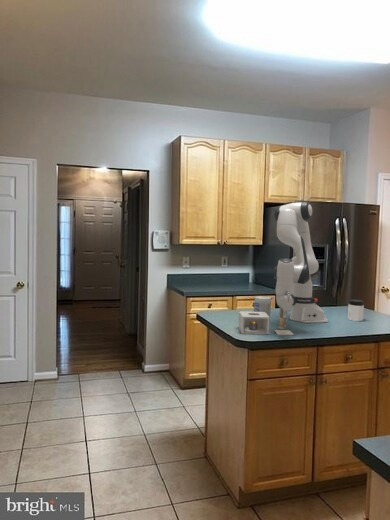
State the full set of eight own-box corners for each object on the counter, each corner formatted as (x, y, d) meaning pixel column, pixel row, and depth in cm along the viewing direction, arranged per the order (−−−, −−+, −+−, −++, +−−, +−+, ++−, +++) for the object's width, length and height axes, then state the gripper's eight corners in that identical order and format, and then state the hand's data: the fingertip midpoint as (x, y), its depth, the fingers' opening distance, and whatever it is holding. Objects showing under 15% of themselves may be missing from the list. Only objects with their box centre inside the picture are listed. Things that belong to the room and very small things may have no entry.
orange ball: (256, 328, 219) (256, 321, 219) (257, 330, 215) (258, 322, 215) (249, 328, 219) (249, 320, 219) (250, 330, 215) (250, 322, 215)
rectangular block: (284, 327, 214) (285, 304, 213) (285, 328, 211) (287, 305, 210) (278, 327, 214) (279, 304, 213) (279, 328, 211) (281, 305, 210)
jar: (345, 318, 256) (346, 299, 255) (358, 318, 256) (359, 299, 256) (351, 321, 247) (352, 301, 246) (365, 321, 247) (366, 301, 247)
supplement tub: (251, 323, 235) (252, 297, 234) (255, 320, 243) (256, 295, 242) (268, 325, 231) (269, 299, 230) (271, 321, 240) (272, 297, 239)
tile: (289, 331, 216) (289, 330, 216) (293, 335, 208) (293, 334, 208) (274, 331, 216) (274, 329, 216) (277, 335, 208) (277, 333, 208)
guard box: (264, 327, 224) (264, 311, 224) (268, 334, 210) (269, 317, 210) (238, 327, 224) (239, 311, 223) (241, 333, 210) (242, 316, 209)
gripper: (295, 293, 201) (294, 321, 201) (286, 287, 221) (285, 313, 222) (282, 293, 200) (281, 320, 201) (274, 287, 221) (273, 312, 222)
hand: (283, 316), depth 212 cm, fingers closed on rectangular block, 3 cm apart
